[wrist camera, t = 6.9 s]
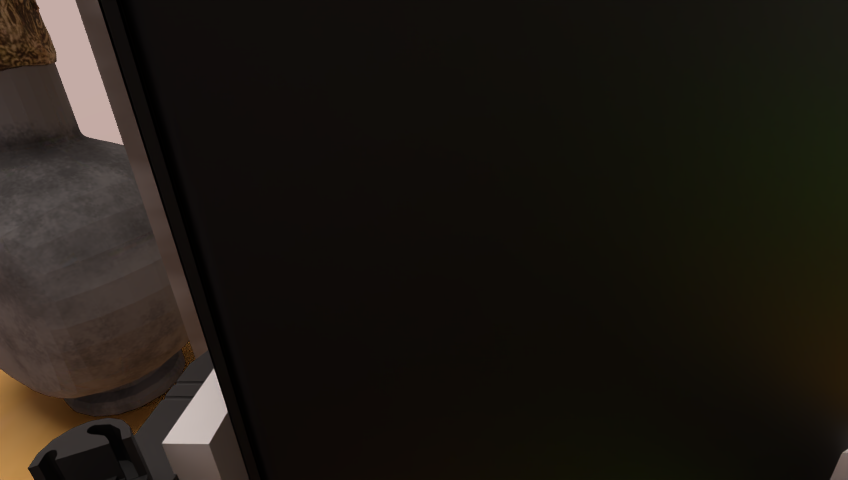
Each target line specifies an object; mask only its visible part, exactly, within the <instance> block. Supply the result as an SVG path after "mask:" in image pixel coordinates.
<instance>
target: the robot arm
mask: <svg viewBox="0 0 848 480" xmlns="http://www.w3.org/2000/svg"><path fill="white" fill-rule="evenodd" d="M176 382H177V383H176V385H173V386H172V388H171V389H170V390H169V391H168V393H167V394H166V395H165V399H164V400H161V402H160V403H159V404H158V406H157V407H156V408H155V409H154V411H153V412H152V413H151V415H150V416H149V417H148V419H147V420H146V421H145V422H144V424H143V425H142V426H141V428H140V429H139V430H138V431H137V433H136V434H135V435H133V433H132V430H131V428H130V426H129V425H128V424H126V423H125V422H124V421H123V420H120V419H113V418H105V419H99V420H93V421H89V422H87V423H84V424H82V425H79V426H77V427H74V428H72V429H70V430H68V431H67V432H65V433H63V434H62V435H60V436H59V437H57V438H55V439H54V440H52V441H51V442H50V443H49V444H48V445H47V446H46V447H45V448H43V449H42V450H41V451H40V452H39V453H38V454H37V455H36V457H35V458H34V460H33V461H32V463H31V464H30V466H29V467H28V470H29V471H30V473H31V475H32V476H33V478H34V480H249V477H248V474H247V471H246V468H245V465H244V462H243V458H242V455H241V452H240V449H239V446H238V443H237V439H236V436H235V433H234V430H233V427H232V424H231V420H230V417H229V414H228V411H227V408H226V405H225V401H224V398H223V395H222V392H221V389H220V386H219V382H218V379H217V376H216V373H215V370H214V367H213V363H212V360H211V357H210V354H209V351H206V352H205V353H204V354H202V355H201V356H200V357H198V358H197V359H196V360H194V361H193V362H192V363H190V364H189V366H188V367H187V368H186V369H185V371H184V372H183V373H182V375H181V376H180V377H179V379H178V380H177V381H176ZM830 480H848V449H847V450H846V451H844V452H843V453H842V454H841V456H840V458H839V461H838V463H837V465H836V467H835V470H834V472H833V474H832V476H831V479H830Z"/></svg>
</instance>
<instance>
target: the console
mask: <svg viewBox="0 0 848 480" xmlns="http://www.w3.org/2000/svg"><path fill="white" fill-rule="evenodd" d="M76 3H77V6H78V9H79V12H80V15H81V18H82V21H83V24H84V27H85V30H86V33H87V35H88V39H89V42H90V45H91V48H92V51H93V54H94V57H95V60H96V63H97V66H98V69H99V72H100V75H101V78H102V80H103V83H104V87H105V90H106V92H107V96H108V99H109V102H110V105H111V108H112V111H113V114H114V117H115V120H116V122H117V126H118V129H119V132H120V134H121V138H122V141H123V144H124V147H125V150H126V153H127V156H128V159H129V162H130V165H131V168H132V171H133V174H134V177H135V180H136V183H137V186H138V189H139V192H140V195H141V198H142V201H143V204H144V206H145V209H146V212H147V215H148V218H149V221H150V224H151V227H152V230H153V233H154V236H155V239H156V242H157V245H158V248H159V251H160V254H161V257H162V260H163V263H164V266H165V269H166V272H167V275H168V278H169V281H170V284H171V287H172V290H173V293H174V296H175V299H176V302H177V305H178V308H179V311H180V314H181V317H182V320H183V323H184V326H185V329H186V332H187V335H188V338H189V341H190V344H191V347H192V350H193V353H194V356H195V359H197V358H198V357H200V356H201V355H202V354H204V353H205V352H206V351H208V348H207V344H206V341H205V338H204V335H203V332H202V329H201V325H200V322H199V319H198V316H197V313H196V310H195V306H194V303H193V300H192V297H191V294H190V291H189V287H188V284H187V281H186V278H185V275H184V272H183V268H182V265H181V262H180V259H179V256H178V253H177V249H176V246H175V243H174V240H173V237H172V234H171V230H170V227H169V224H168V221H167V218H166V215H165V212H164V208H163V205H162V202H161V199H160V196H159V193H158V189H157V186H156V183H155V180H154V177H153V174H152V170H151V167H150V164H149V161H148V158H147V155H146V151H145V148H144V145H143V142H142V139H141V136H140V132H139V129H138V126H137V123H136V120H135V117H134V113H133V110H132V107H131V104H130V101H129V98H128V94H127V91H126V88H125V85H124V82H123V79H122V75H121V72H120V69H119V66H118V63H117V60H116V56H115V53H114V50H113V47H112V44H111V41H110V37H109V34H108V31H107V28H106V25H105V22H104V18H103V15H102V12H101V9H100V6H99V3H98V0H76Z"/></svg>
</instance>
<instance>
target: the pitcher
mask: <svg viewBox="0 0 848 480" xmlns="http://www.w3.org/2000/svg"><path fill="white" fill-rule="evenodd" d="M55 62H56V51H55V48H54V46H53V43H52V40H51V38H50V35H49V33H48V31H47V29H46V27H45V25H44V23H43V20H42V18H41V15H40V13H39V7H38V5H37V4H36V1H35V0H0V369H2V370H3V371H4V372H6V373H7V374H8V375H10V376H11V377H12V378H14V379H16V380H17V381H19V382H21V383H22V384H24V385H26V386H27V387H29V388H30V389H32V390H34V391H36V392H39V393H41V394H44V395H47V396H52V397H57V398H64V400H65V402H66V403H67V404H68V405H69V406H70V407H71V408H72V409H73V410H74V411H76V412H78V413H82V414H86V415H91V416H106V415H117V414H121V413H124V412H127V411H130V410H133V409H136V408H139V407H142V406H144V405H145V404H147V403H149V402H150V401H152V400H154V399H155V398H157V397H159V396H161V395H162V394H164V393H165V392H166V391H167V390H168V389H169V388H170V387H171V386H172V385H173V384H174V383H175V382H176V381H177V380H178V379H179V377H180V376H181V374H182V372H183V369H184V367H185V359H184V356H183V353H182V350H181V348H183V347H184V346H185V345H186V344H187V343H188V341H189V338H188V335H187V332H186V329H185V326H184V323H183V320H182V317H181V314H180V311H179V308H178V305H177V302H176V299H175V296H174V293H173V290H172V287H171V284H170V281H169V278H168V275H167V272H166V269H165V266H164V263H163V260H162V257H161V254H160V251H159V248H158V245H157V242H156V239H155V236H154V233H153V230H152V227H151V224H150V221H149V218H148V215H147V212H146V209H145V206H144V204H143V201H142V198H141V195H140V192H139V189H138V186H137V183H136V180H135V177H134V174H133V171H132V168H131V165H130V162H129V159H128V156H127V153H126V150H125V147H124V145H120V144H116V143H112V142H107V141H102V140H97V139H93V138H89V137H86V136H84V135H83V134H82V133H81V132H80V130H79V127H78V124H77V122H76V119H75V116H74V114H73V111H72V108H71V106H70V103H69V100H68V98H67V95H66V92H65V89H64V87H63V84H62V81H61V78H60V76H59V73H58V70H57V68H56V65H55Z"/></svg>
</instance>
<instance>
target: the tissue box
mask: <svg viewBox="0 0 848 480" xmlns="http://www.w3.org/2000/svg"><path fill="white" fill-rule="evenodd" d="M98 3H99V6H100V9H101V12H102V15H103V18H104V22H105V25H106V28H107V31H108V34H109V37H110V41H111V44H112V47H113V50H114V53H115V56H116V60H117V63H118V66H119V69H120V72H121V75H122V79H123V82H124V85H125V88H126V91H127V94H128V98H129V101H130V104H131V107H132V110H133V113H134V117H135V120H136V123H137V126H138V129H139V132H140V136H141V139H142V142H143V145H144V148H145V151H146V155H147V158H148V161H149V164H150V167H151V170H152V174H153V177H154V180H155V183H156V186H157V189H158V193H159V196H160V199H161V202H162V205H163V208H164V212H165V215H166V218H167V221H168V224H169V227H170V230H171V234H172V237H173V240H174V243H175V246H176V249H177V253H178V256H179V259H180V262H181V265H182V268H183V272H184V275H185V278H186V281H187V284H188V287H189V291H190V294H191V297H192V300H193V303H194V306H195V310H196V313H197V316H198V319H199V322H200V325H201V329H202V332H203V335H204V338H205V341H206V344H207V348H208V351H209V354H210V357H211V360H212V363H213V367H214V370H215V373H216V376H217V379H218V382H219V386H220V389H221V392H222V395H223V398H224V401H225V405H226V408H227V411H228V414H229V417H230V420H231V424H232V427H233V430H234V433H235V436H236V439H237V443H238V446H239V449H240V452H241V455H242V458H243V462H244V465H245V468H246V471H247V474H248V477H249V480H830V479H831V476H832V474H833V472H834V470H835V467H836V465H837V463H838V461H839V458H840V456H841V454H842V453H843V452H844V451H846V450H847V449H848V0H98Z"/></svg>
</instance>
